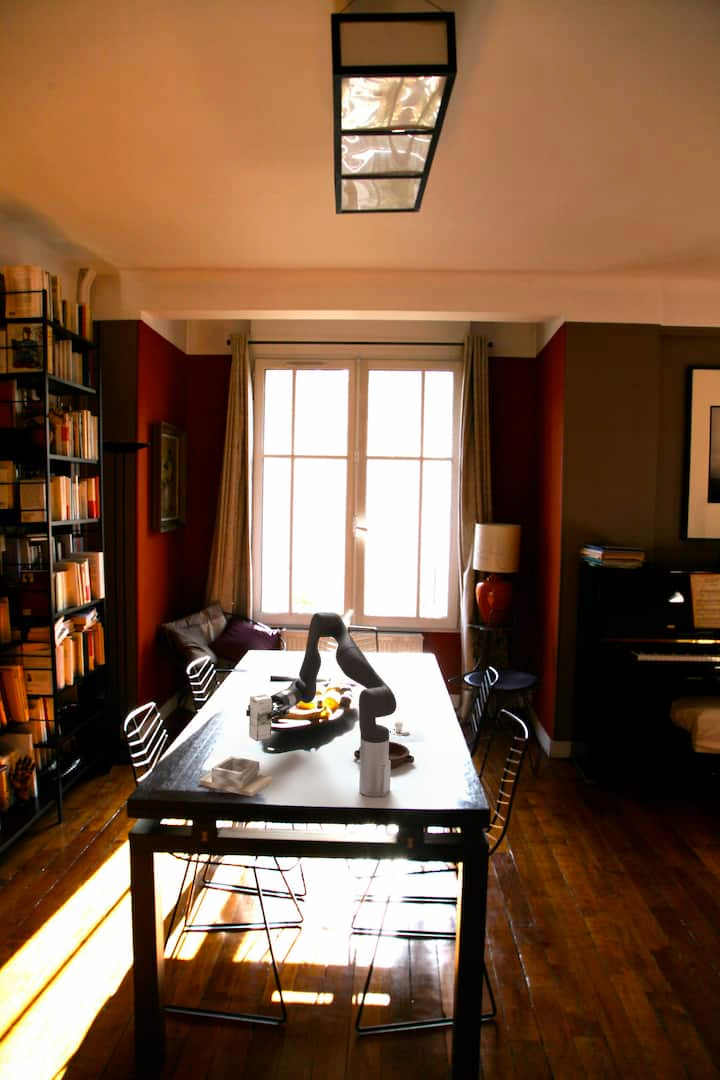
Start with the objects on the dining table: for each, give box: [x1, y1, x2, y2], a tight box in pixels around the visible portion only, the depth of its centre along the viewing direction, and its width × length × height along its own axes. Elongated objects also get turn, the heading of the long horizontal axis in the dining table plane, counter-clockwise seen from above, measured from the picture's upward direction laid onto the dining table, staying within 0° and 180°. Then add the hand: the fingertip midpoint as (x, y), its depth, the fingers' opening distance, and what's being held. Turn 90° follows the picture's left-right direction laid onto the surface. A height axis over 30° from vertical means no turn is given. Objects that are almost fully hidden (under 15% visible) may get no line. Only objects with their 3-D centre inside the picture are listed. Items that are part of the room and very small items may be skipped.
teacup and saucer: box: [390, 721, 410, 736], centre depth 247 cm, size 9×8×4 cm
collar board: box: [198, 755, 273, 798], centre depth 196 cm, size 20×12×6 cm, turn 68°
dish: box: [353, 741, 415, 769], centre depth 216 cm, size 18×22×5 cm
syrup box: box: [248, 693, 272, 742], centre depth 207 cm, size 6×6×14 cm
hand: (257, 715), depth 205 cm, fingers closed on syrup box, 8 cm apart
